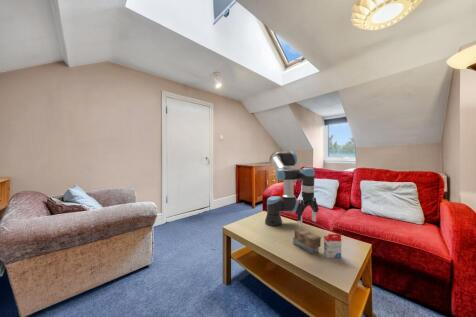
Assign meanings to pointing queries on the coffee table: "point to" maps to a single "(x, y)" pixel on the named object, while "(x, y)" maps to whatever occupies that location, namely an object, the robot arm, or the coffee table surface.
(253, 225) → the coffee table surface
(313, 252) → the rail
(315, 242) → the wooden block
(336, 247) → the ink box
